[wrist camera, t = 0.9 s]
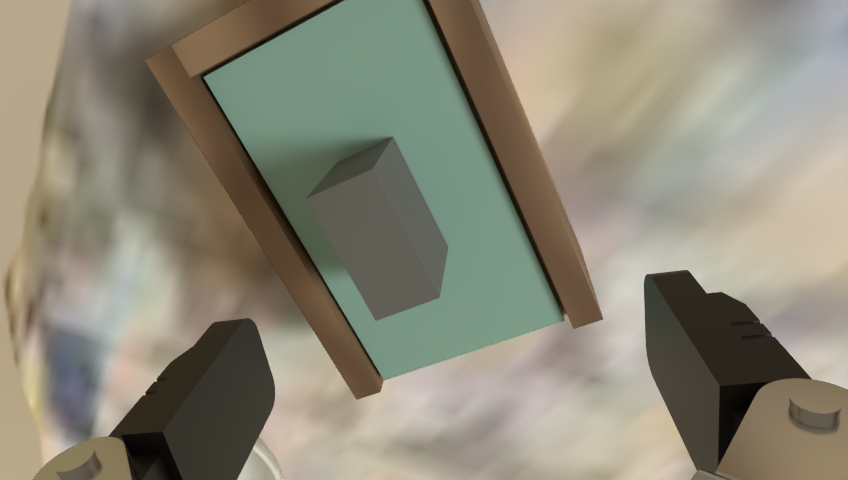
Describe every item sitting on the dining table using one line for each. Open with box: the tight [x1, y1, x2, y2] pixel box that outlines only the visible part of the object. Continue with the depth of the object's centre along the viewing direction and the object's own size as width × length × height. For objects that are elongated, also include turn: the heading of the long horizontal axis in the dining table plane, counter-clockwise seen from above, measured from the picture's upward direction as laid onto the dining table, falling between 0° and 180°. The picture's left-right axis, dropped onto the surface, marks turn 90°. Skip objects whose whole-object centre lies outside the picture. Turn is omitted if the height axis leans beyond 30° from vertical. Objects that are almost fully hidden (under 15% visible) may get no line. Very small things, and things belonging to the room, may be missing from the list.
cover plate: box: [204, 0, 565, 380], centre depth 26 cm, size 10×18×6 cm, turn 26°
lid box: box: [145, 0, 603, 399], centre depth 31 cm, size 14×20×8 cm
